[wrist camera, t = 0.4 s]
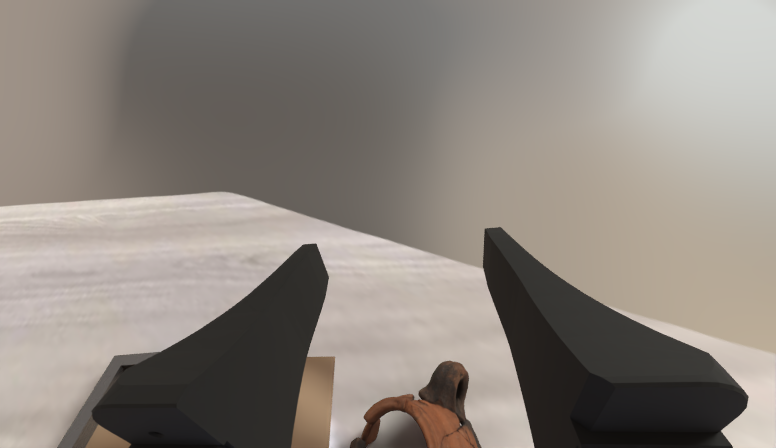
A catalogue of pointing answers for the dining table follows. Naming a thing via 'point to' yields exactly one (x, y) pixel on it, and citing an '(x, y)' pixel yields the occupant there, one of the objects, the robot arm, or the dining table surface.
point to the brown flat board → (310, 412)
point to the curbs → (84, 423)
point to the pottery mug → (430, 411)
